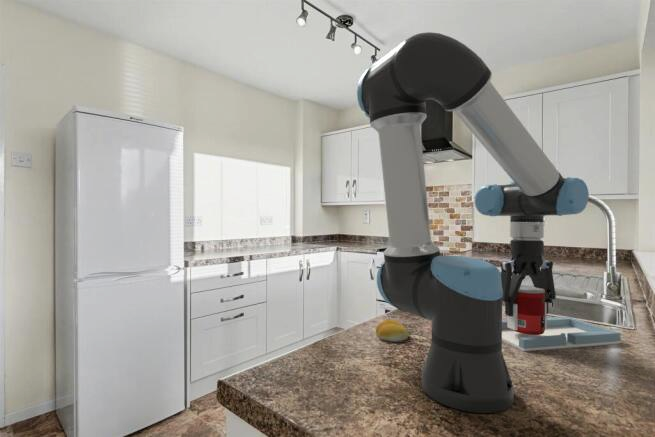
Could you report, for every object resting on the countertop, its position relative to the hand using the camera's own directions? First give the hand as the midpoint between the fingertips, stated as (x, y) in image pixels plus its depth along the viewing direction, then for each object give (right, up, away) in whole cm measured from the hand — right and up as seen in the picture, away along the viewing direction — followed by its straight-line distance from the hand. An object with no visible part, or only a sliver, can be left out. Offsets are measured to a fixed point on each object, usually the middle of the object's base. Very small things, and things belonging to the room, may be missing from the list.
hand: (526, 327), depth 90 cm
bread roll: (-35, -3, +2) cm, 35 cm away
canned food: (0, -1, 0) cm, 1 cm away
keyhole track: (+6, -3, +1) cm, 7 cm away
